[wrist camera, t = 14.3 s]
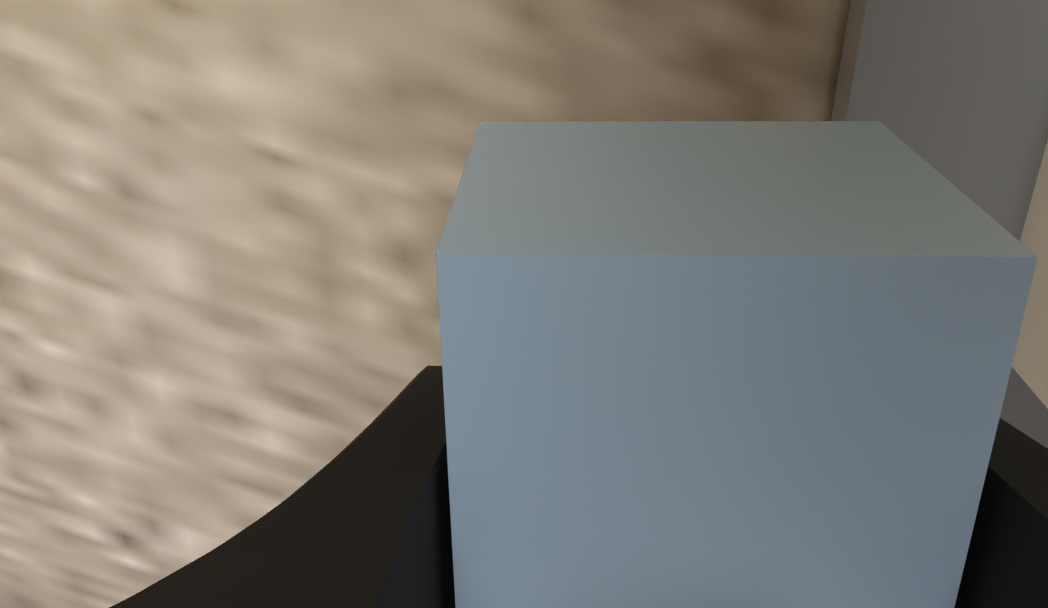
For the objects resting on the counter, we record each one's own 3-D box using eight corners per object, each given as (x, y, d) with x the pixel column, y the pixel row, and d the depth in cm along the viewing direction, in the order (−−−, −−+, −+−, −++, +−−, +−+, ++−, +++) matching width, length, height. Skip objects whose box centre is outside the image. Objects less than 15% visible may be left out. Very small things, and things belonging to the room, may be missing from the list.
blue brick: (807, 600, 14) (892, 868, 10) (495, 593, 14) (469, 854, 10) (878, 121, 11) (1037, 256, 7) (480, 120, 11) (436, 253, 7)
